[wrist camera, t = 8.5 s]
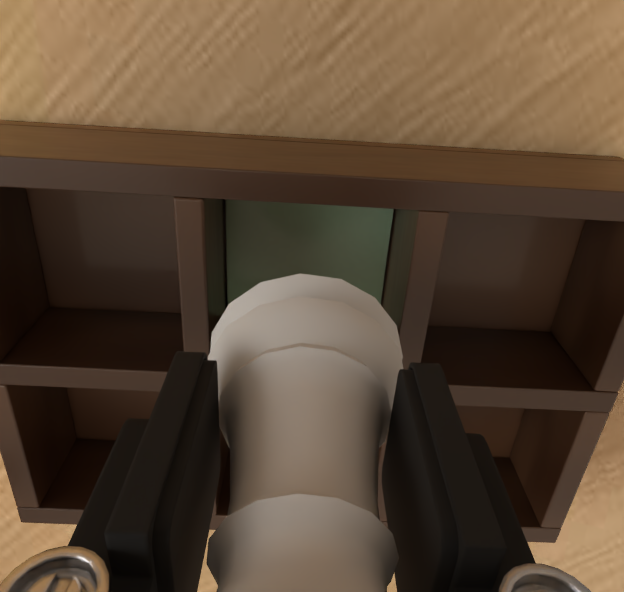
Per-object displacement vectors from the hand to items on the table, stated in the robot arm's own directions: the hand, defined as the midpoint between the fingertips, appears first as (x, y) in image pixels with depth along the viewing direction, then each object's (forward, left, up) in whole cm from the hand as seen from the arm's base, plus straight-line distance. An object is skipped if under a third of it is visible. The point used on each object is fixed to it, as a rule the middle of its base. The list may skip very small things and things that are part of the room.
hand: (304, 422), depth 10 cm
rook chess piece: (0, 0, -3) cm, 3 cm away
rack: (+3, 0, -9) cm, 10 cm away
